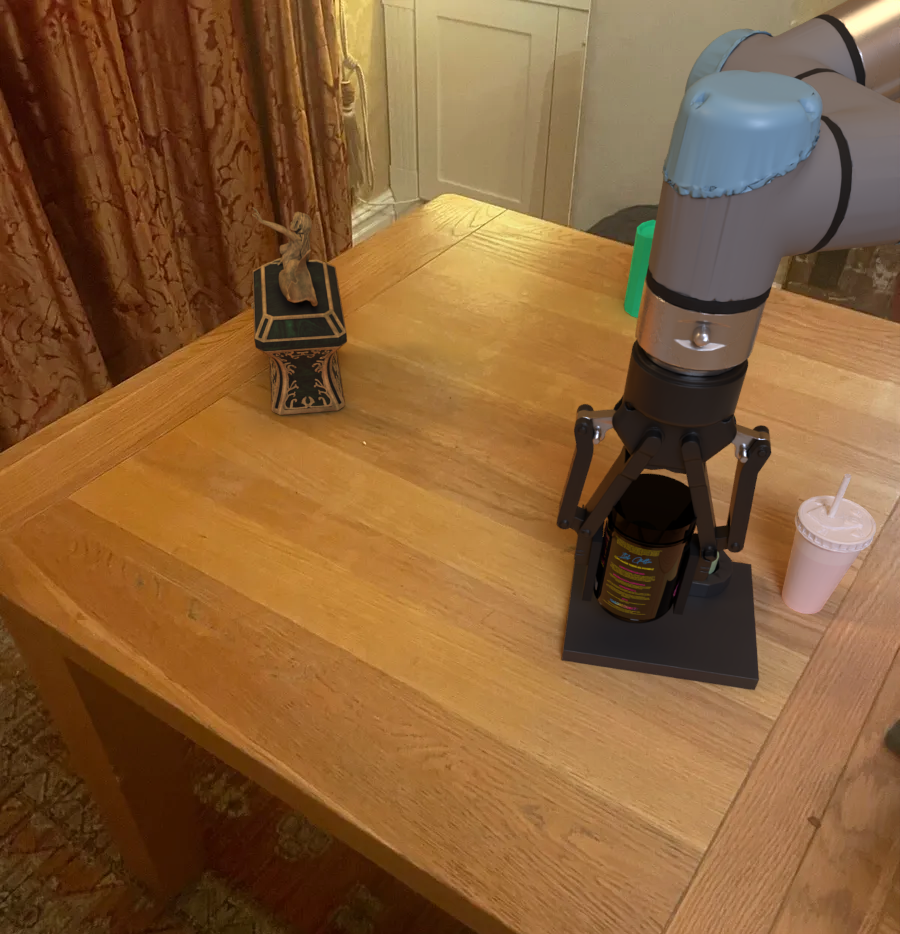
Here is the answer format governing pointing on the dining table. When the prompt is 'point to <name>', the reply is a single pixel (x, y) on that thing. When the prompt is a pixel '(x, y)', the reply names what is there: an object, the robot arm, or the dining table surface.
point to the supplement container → (645, 549)
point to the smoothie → (824, 548)
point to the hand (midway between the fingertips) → (632, 595)
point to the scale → (674, 632)
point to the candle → (639, 267)
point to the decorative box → (299, 324)
